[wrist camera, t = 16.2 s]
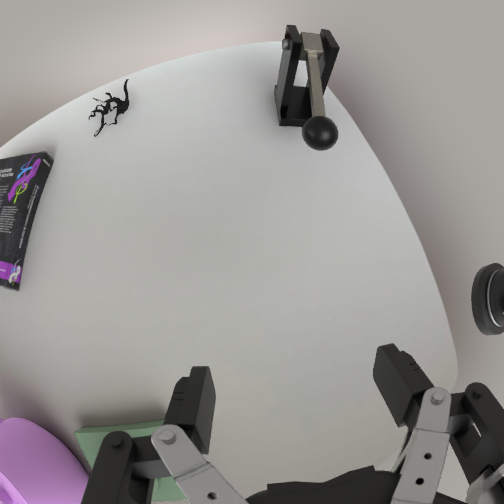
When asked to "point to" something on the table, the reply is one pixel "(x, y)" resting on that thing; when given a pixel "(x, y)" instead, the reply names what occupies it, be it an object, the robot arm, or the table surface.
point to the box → (19, 210)
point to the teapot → (37, 466)
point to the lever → (316, 97)
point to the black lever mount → (286, 95)
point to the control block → (94, 435)
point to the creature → (121, 107)
